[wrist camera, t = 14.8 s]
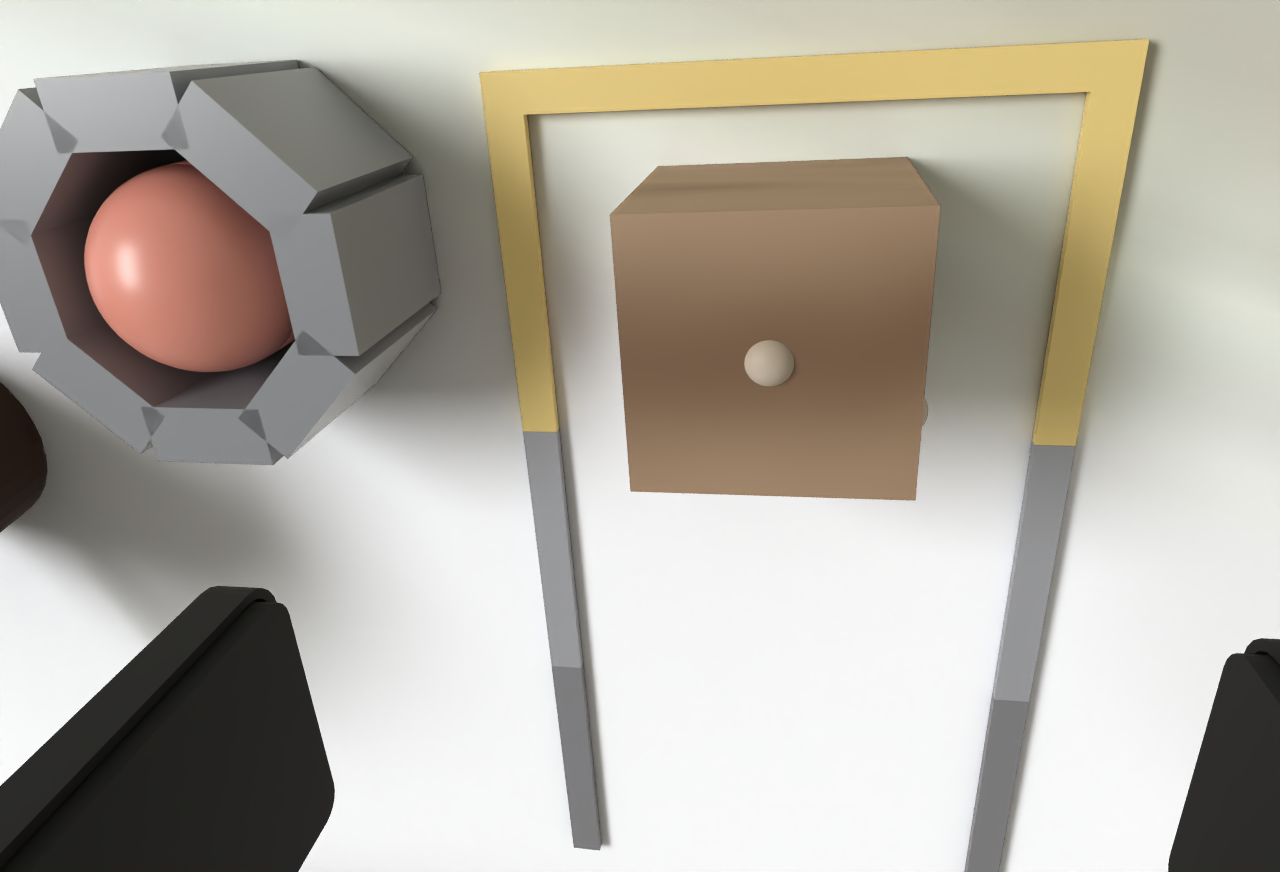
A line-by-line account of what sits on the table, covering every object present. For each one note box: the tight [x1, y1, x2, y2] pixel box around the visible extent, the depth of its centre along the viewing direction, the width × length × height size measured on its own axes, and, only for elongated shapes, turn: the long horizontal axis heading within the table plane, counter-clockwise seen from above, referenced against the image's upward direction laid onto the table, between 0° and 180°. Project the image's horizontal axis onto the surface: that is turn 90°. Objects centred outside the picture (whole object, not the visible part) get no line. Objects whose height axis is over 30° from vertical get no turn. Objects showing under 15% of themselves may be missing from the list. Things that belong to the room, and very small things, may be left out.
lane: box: [480, 39, 1149, 872], centre depth 26 cm, size 27×15×1 cm, turn 3°
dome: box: [84, 160, 295, 372], centre depth 21 cm, size 5×5×6 cm
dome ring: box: [0, 60, 441, 465], centre depth 22 cm, size 9×9×5 cm
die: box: [610, 157, 940, 500], centre depth 20 cm, size 6×6×6 cm
